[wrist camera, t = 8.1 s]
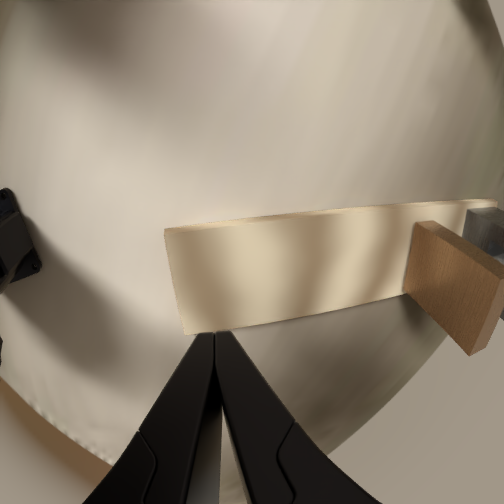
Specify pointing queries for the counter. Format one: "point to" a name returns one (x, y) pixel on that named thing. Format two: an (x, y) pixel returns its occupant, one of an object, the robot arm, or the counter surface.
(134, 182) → the counter surface
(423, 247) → the wooden block with shaft
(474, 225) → the bearing block
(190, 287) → the birch base plate
